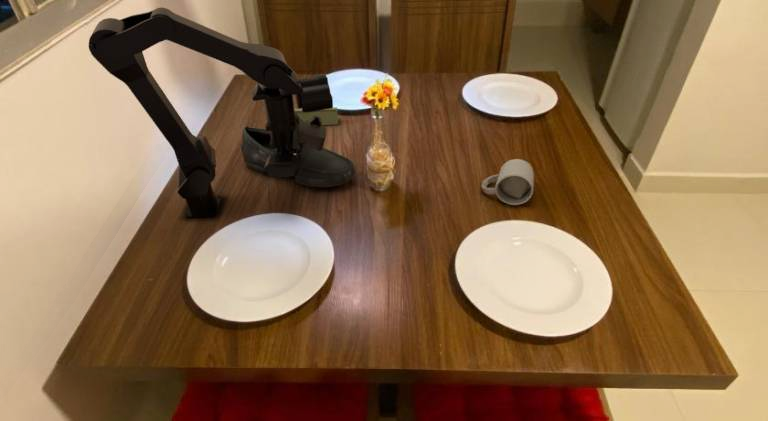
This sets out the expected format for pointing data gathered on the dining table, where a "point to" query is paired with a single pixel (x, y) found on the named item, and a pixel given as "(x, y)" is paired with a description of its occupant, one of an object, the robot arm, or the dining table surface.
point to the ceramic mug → (512, 182)
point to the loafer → (312, 167)
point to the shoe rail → (326, 116)
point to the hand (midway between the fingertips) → (293, 179)
